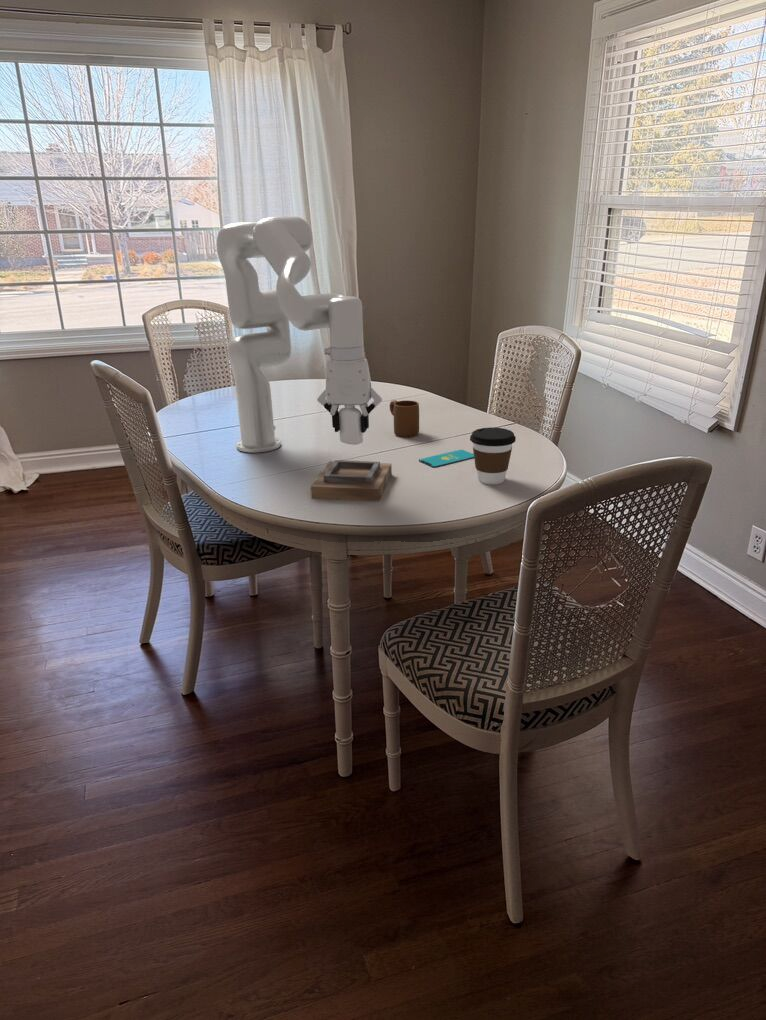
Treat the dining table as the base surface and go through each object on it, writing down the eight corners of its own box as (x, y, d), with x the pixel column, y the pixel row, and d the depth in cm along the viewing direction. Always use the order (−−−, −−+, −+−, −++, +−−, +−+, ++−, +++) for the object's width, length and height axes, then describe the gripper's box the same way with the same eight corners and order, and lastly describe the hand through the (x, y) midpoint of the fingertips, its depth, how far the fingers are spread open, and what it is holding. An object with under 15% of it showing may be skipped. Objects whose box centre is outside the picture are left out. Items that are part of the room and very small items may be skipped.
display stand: (330, 472, 182) (329, 455, 180) (391, 474, 179) (391, 457, 177) (311, 498, 165) (310, 480, 164) (378, 501, 162) (378, 483, 161)
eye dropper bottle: (354, 437, 171) (352, 388, 166) (364, 443, 166) (362, 393, 161) (338, 440, 169) (335, 391, 164) (347, 446, 164) (345, 396, 160)
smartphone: (478, 455, 190) (433, 466, 182) (478, 458, 190) (433, 469, 183) (461, 449, 196) (417, 459, 188) (461, 451, 196) (417, 462, 188)
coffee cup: (459, 480, 174) (460, 433, 169) (487, 469, 181) (488, 424, 176) (495, 491, 166) (497, 442, 162) (522, 479, 173) (525, 432, 169)
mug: (380, 430, 216) (380, 400, 212) (401, 425, 219) (400, 396, 216) (403, 439, 206) (403, 408, 203) (424, 434, 210) (424, 403, 206)
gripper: (306, 356, 158) (311, 434, 165) (381, 357, 155) (383, 436, 162) (315, 350, 164) (319, 425, 171) (387, 350, 161) (389, 427, 168)
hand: (350, 430), depth 166 cm, fingers closed on eye dropper bottle, 5 cm apart
